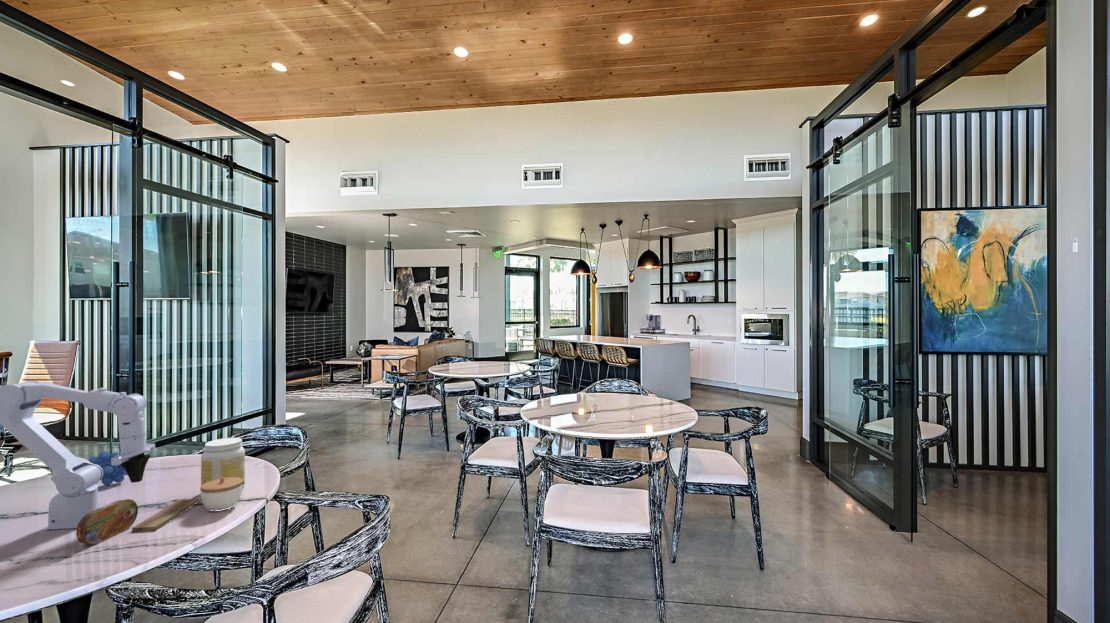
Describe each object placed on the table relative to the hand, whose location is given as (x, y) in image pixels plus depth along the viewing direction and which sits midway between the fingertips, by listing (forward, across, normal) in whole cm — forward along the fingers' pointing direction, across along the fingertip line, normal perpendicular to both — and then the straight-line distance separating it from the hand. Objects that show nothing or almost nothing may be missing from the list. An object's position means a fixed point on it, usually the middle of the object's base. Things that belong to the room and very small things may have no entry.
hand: (136, 481), depth 138 cm
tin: (+11, -12, 0) cm, 16 cm away
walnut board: (+11, 0, -8) cm, 14 cm away
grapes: (+9, +29, +29) cm, 42 cm away
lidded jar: (+12, +4, -20) cm, 24 cm away
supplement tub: (+12, +19, -13) cm, 26 cm away
